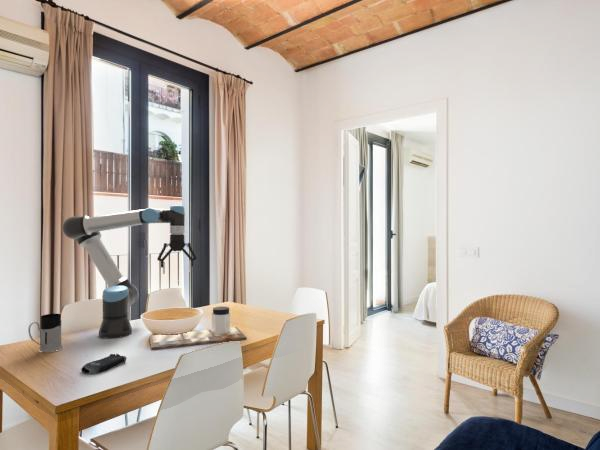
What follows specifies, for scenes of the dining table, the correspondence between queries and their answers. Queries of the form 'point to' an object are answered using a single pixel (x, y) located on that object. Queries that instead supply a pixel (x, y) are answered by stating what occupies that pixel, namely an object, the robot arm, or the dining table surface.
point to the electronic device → (104, 364)
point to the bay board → (194, 338)
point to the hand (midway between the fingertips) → (177, 273)
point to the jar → (220, 320)
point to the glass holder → (49, 332)
